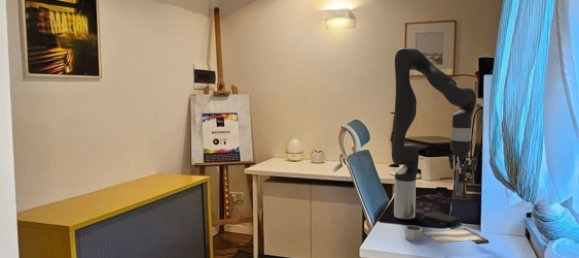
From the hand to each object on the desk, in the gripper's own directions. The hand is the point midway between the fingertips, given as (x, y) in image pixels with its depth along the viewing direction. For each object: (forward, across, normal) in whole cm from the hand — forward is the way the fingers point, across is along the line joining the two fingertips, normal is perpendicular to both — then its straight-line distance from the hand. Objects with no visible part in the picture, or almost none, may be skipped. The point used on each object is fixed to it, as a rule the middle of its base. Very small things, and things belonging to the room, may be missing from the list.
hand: (459, 181), depth 183 cm
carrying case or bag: (+22, -14, +1) cm, 26 cm away
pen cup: (+21, +3, -21) cm, 30 cm away
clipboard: (+21, +4, -5) cm, 22 cm away
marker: (+5, 0, 0) cm, 5 cm away
